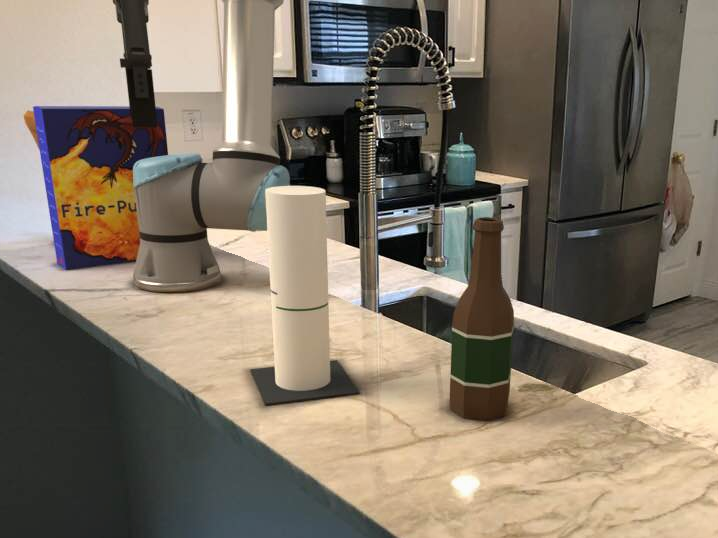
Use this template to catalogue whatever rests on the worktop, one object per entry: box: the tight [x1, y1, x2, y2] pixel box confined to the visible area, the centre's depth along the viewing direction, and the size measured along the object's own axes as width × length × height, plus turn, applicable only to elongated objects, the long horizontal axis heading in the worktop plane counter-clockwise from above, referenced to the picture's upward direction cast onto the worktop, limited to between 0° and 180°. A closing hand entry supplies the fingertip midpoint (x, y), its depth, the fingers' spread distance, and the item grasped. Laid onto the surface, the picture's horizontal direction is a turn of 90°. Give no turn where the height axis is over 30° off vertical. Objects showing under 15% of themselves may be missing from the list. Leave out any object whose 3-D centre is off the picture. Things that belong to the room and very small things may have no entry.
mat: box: [250, 359, 360, 406], centre depth 101 cm, size 12×12×1 cm
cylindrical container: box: [265, 185, 331, 391], centre depth 97 cm, size 7×7×25 cm
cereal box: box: [32, 105, 169, 271], centre depth 151 cm, size 22×6×30 cm, turn 132°
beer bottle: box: [449, 216, 515, 422], centre depth 92 cm, size 8×8×24 cm
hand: (143, 123), depth 97 cm, fingers open, 13 cm apart
